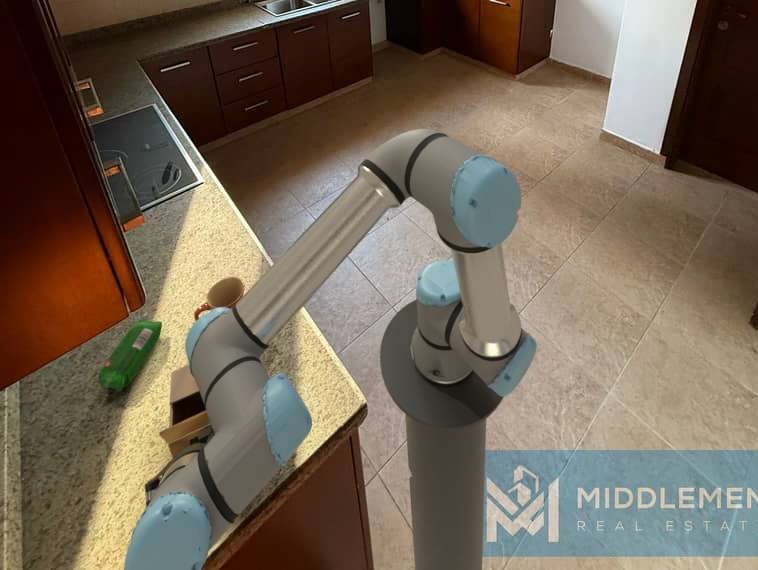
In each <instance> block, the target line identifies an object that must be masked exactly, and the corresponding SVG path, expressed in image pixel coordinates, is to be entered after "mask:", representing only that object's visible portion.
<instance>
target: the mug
mask: <svg viewBox="0 0 758 570" xmlns="http://www.w3.org/2000/svg"><path fill="white" fill-rule="evenodd" d="M244 295H245V283H244V280H242V279H241V278H239V277H237V276H236V277H235V276H230V277H229V276H228V277H225V278H223V279H220V280H219V281H218V282H215V283H214V284H213V285H212V287H211V288H210V289H209V291H208V292H207V294H206V297H205V298H206V299H205V300H206V302H204V303H202V304H201V305H200V306H198V308H196V309H195V311H194V314H193V318H194V321H195V322H196V321H197V320H198V319H199V318H200V314H201V313H204V312H206V311H211V310H212V309H215V308H219V307H226V308H229V309H231V308H232V307H233V306H234V305H235V304H236V303H237V302H238V301H239V300H240V299H241V298H242V297H243V296H244Z"/></svg>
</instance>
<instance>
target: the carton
mask: <svg viewBox="0 0 758 570" xmlns="http://www.w3.org/2000/svg"><path fill="white" fill-rule="evenodd" d="M170 375H171V376H170V388H169V389H170V390H169V405H170V406H169V422H168V424H169V425H168V428H169V427H171V426H174V425H176V424H178V423H180V422H182V421H184V420H187V419H189V418H191V417H193V416H195V415H197V414H199V413H202V412H204V411H206V408H205V405H204V402H203V399H202V397H201V394H200V392H199V389H198V386H197V384H196V381H195V379H194V377H193V376H192V374H191V372H190V368H189V364H187V365H185V366H182V367H180V368H178V369H175V370H173V371H171V373H170ZM209 425H211V423H210V424H208V425H206V426H204V427H202V428H200V429H198V430H196V431H194V432H191V433H189V434H187V435H185V436H183V437H181V438H179V439H177V440H175V441H173V442H170V443H167V445H168V448H169V451H170V454H171V457H172V459H173V458H174V456H175V455H176V454H177V453H178V452H180V451H181V450H184V449H185V448H187V447H189V446H190V439H192V438H193V437H196V436H198V439H199V438H200V436H201V434H202V431H203V429H204V428H205V427H207V426H209Z"/></svg>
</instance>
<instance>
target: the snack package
mask: <svg viewBox="0 0 758 570" xmlns="http://www.w3.org/2000/svg"><path fill="white" fill-rule="evenodd" d="M147 319H149V317H146V318H143V319H142V318H141V319H139V321H138V322H136V323H134V324H133V325H132V326H131V327H130V328H129V329H128V331H127V332H126V333H125V334H124V336H123V337H122V339H121V340H120V341H119V343H118V344H117V345H116V346H115V348H114V349H113V351H112V352H111V354H110V355H109V356H108V358H107V359H106V360H105V362H104V363H103V365H102V367H101V369H100V370H99V374H98V376H99V377H98V380H99V386H100V387H101V388H103V389H105V388H110V389H115V391H116V392H121V391H122V390H123V389H124V388H125V387H126V386H128V385H130V383H132V381H133V380H134V378H136V376H137V374H138V372H139V371H140V369H141V368H142V366H143V364H144V363H145V362H146V360H147V359H148V358H149V356H150V354H151V353H152V351H153V350H154V348H155V346H156V344H157V343H158V342H159V340H160V337H161V333H162V328H163V322H162V321H159V320H158V321H150V320H147Z"/></svg>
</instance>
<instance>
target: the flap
mask: <svg viewBox="0 0 758 570" xmlns="http://www.w3.org/2000/svg"><path fill="white" fill-rule="evenodd" d="M208 424H210V420H209V417H208V414H207V411H204V412H202V413H199V414H197V415H195V416H193V417H191V418H189V419H187V420H184V421H182V422H180V423H178V424H176V425H174V426H171V427H169V426H168V427H167V428H164V430H161V431H159V432H158V435H159V436H160V437H161V439H163V440H164V442H165V443H166V444H168V443H170V442H173V441H175V440H177V439H179V438H181V437H183V436H185V435H187V434H189V433H191V432H194V431H196V430H198V429H200V428H202V427H204V426H206V425H208Z"/></svg>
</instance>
